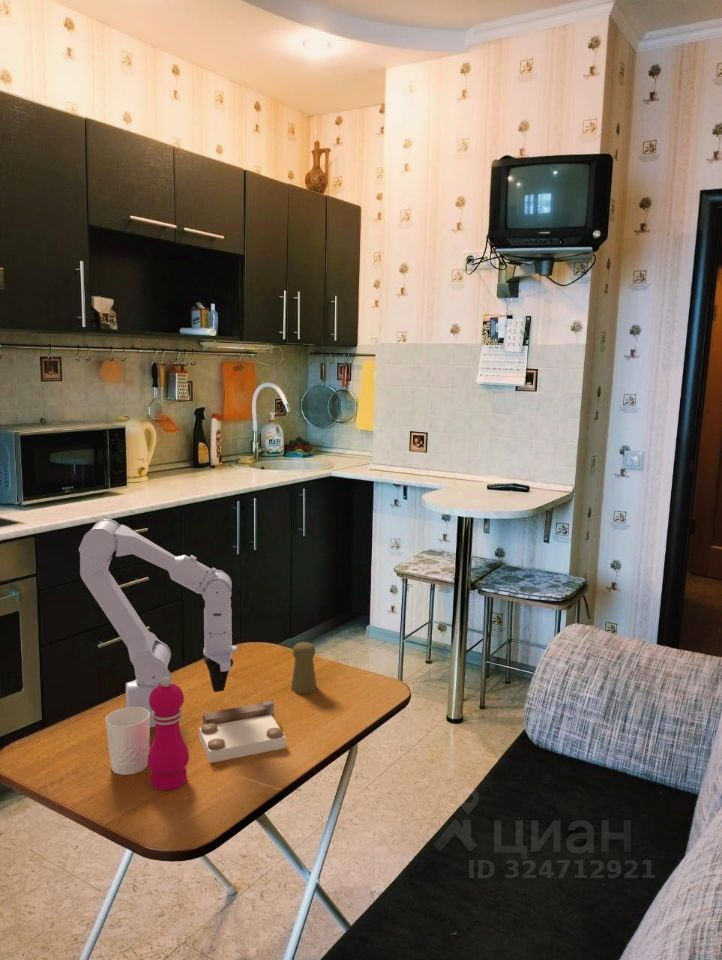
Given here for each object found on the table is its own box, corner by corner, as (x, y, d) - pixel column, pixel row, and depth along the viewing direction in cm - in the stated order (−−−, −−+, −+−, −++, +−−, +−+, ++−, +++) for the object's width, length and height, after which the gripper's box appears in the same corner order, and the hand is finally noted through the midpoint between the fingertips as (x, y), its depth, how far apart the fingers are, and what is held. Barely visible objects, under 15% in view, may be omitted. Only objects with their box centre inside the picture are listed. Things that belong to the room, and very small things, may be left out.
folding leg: (271, 716, 160) (271, 699, 159) (276, 722, 157) (275, 705, 156) (203, 729, 154) (202, 712, 153) (206, 736, 151) (206, 718, 150)
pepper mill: (196, 773, 138) (194, 671, 135) (176, 795, 131) (173, 688, 128) (161, 767, 140) (158, 666, 136) (140, 788, 133) (136, 683, 130)
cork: (315, 695, 170) (316, 649, 169) (289, 694, 171) (289, 649, 169) (317, 683, 176) (318, 639, 175) (292, 683, 176) (292, 639, 175)
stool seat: (209, 763, 141) (209, 748, 141) (199, 739, 150) (199, 724, 150) (285, 748, 147) (285, 734, 146) (271, 725, 156) (271, 711, 156)
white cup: (156, 770, 139) (154, 720, 137) (112, 781, 135) (110, 730, 133) (145, 750, 146) (144, 702, 144) (104, 761, 142) (101, 712, 140)
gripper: (245, 639, 152) (245, 701, 154) (228, 616, 165) (229, 674, 167) (210, 643, 149) (211, 707, 152) (196, 620, 162) (197, 678, 165)
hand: (218, 690), depth 159 cm, fingers closed
